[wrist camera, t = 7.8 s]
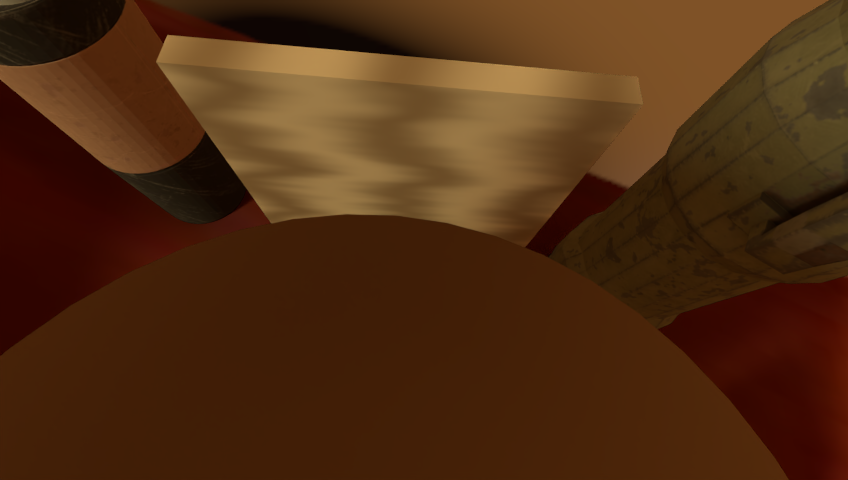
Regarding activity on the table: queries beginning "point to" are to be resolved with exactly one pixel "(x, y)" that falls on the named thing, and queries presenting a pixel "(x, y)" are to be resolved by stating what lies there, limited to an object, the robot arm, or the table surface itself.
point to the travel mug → (116, 100)
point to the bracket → (399, 131)
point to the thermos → (737, 186)
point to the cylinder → (362, 369)
